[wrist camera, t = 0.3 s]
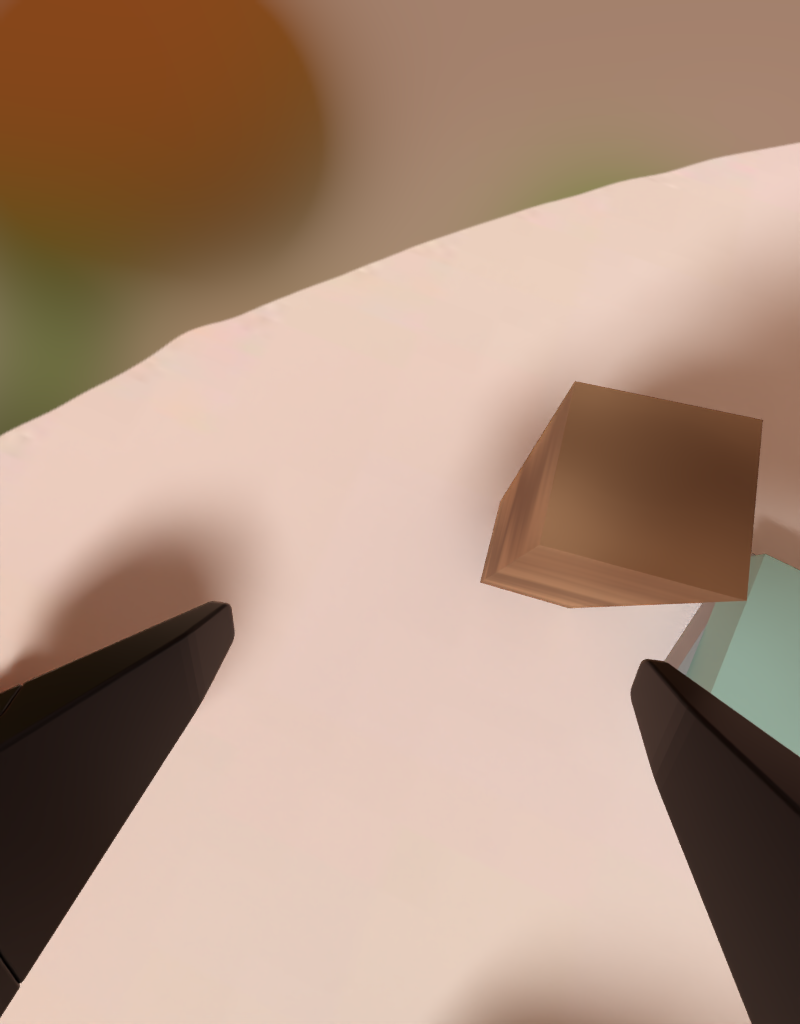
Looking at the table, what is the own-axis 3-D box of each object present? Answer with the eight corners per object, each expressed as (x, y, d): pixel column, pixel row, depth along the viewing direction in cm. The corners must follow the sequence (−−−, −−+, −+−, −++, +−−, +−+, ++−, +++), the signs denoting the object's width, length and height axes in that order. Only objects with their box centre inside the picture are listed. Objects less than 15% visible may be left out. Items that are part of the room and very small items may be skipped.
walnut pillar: (568, 608, 21) (746, 600, 9) (480, 582, 22) (539, 544, 10) (585, 523, 23) (762, 420, 10) (500, 501, 23) (575, 381, 11)
